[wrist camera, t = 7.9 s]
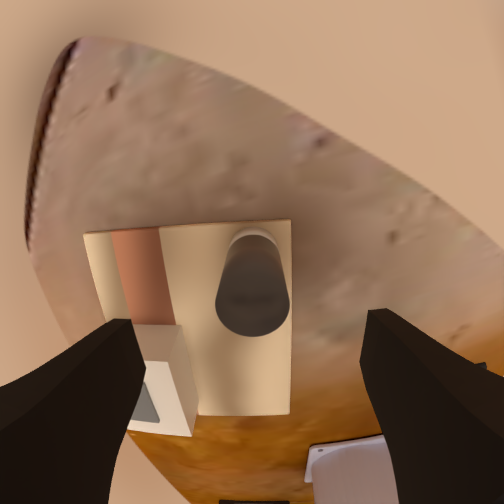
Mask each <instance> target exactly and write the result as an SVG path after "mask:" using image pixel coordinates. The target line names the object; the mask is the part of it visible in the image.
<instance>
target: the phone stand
mask: <svg viewBox="0 0 504 504" xmlns="http://www.w3.org/2000/svg"><path fill="white" fill-rule="evenodd" d="M219 504H290V503H289V501H256V502H253V501H235V500H219Z"/></svg>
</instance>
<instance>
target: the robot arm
mask: <svg viewBox="0 0 504 504" xmlns="http://www.w3.org/2000/svg"><path fill="white" fill-rule="evenodd" d="M360 366H361V371H362V375H363V379H364V383H365V387H366V390H367V393H368V396H369V398H370V401H371V403H372V406H373V409H374V411H375V414H376V417H377V419H378V422H379V425H380V427H381V430H382V433H383V435H379V436H374V437H369V438H363V439H358V440H351V441H345V442H338V443H331V444H322V445H314V446H311V447H310V448H309V454H308V460H307V466H306V472H305V477H304V481H305V482H312V483H313V492H314V501H315V504H504V377H502V376H500V375H497V374H495V373H493V372H491V371H489V370H486V369H484V368H482V367H480V366H478V365H476V364H474V363H472V362H470V361H469V360H467V359H465V358H463V357H462V356H460V355H458V354H457V353H455V352H453V351H452V350H450V349H448V348H447V347H445V346H443V345H442V344H440V343H439V342H437V341H436V340H434V339H433V338H431V337H430V336H428V335H427V334H425V333H424V332H422V331H421V330H419V329H418V328H416V327H415V326H413V325H412V324H411V323H409V322H408V321H406V320H405V319H403V318H402V317H400V316H399V315H397V314H396V313H394V312H392V311H391V310H389V309H387V308H384V309H375V310H368V315H367V322H366V328H365V334H364V340H363V346H362V351H361V356H360ZM145 372H146V365H145V362H144V359H143V356H142V353H141V350H140V347H139V344H138V341H137V338H136V334H135V331H134V328H133V324H132V321H131V319H117V318H114V319H112V320H110V321H109V322H107V323H105V324H104V325H102V326H100V327H99V328H97V329H96V330H94V331H93V332H91V333H90V334H89V335H87V336H86V337H84V338H83V339H81V340H80V341H78V342H77V343H75V344H74V345H73V346H71V347H70V348H68V349H67V350H65V351H64V352H62V353H61V354H59V355H58V356H56V357H54V358H53V359H51V360H50V361H48V362H47V363H45V364H44V365H42V366H40V367H39V368H37V369H35V370H34V371H32V372H30V373H28V374H26V375H24V376H22V377H20V378H19V379H17V380H15V381H13V382H11V383H8V384H6V385H4V386H1V387H0V504H108V500H109V493H110V487H111V481H112V476H113V472H114V467H115V463H116V458H117V455H118V452H119V449H120V445H121V443H122V440H123V438H124V435H125V433H126V430H127V427H128V425H129V422H130V420H131V417H132V415H133V412H134V409H135V407H136V404H137V402H138V399H139V396H140V393H141V389H142V385H143V381H144V377H145Z"/></svg>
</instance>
